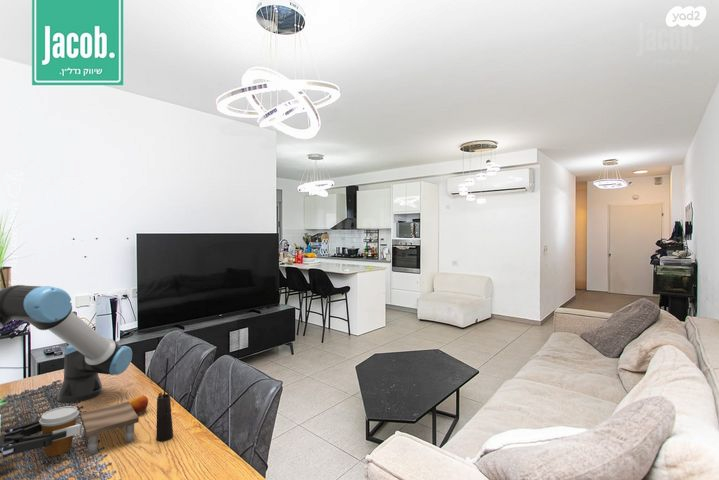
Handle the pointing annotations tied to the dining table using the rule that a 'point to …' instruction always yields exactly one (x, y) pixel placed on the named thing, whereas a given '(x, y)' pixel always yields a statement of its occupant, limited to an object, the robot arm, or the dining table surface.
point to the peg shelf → (108, 423)
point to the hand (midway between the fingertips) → (78, 423)
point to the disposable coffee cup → (57, 421)
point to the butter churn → (164, 415)
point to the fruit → (139, 403)
